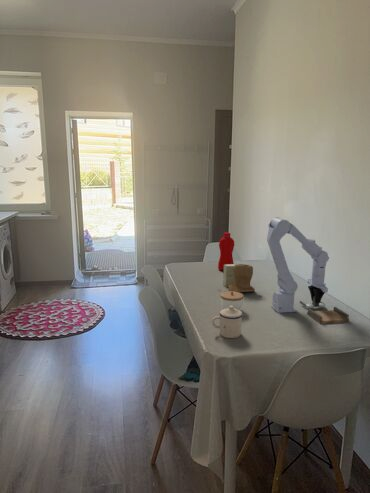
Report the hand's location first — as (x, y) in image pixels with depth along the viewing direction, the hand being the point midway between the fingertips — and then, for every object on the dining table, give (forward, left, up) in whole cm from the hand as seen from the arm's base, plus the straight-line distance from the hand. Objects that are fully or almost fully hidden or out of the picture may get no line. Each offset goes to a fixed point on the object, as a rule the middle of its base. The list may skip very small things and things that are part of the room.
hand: (315, 301), depth 178 cm
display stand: (-1, -12, -3) cm, 12 cm away
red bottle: (-21, +75, -3) cm, 78 cm away
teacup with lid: (-51, -20, -3) cm, 55 cm away
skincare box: (-30, +41, -4) cm, 51 cm away
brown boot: (-27, +31, -4) cm, 41 cm away
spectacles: (0, +2, -2) cm, 3 cm away
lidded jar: (-41, +4, -4) cm, 41 cm away
